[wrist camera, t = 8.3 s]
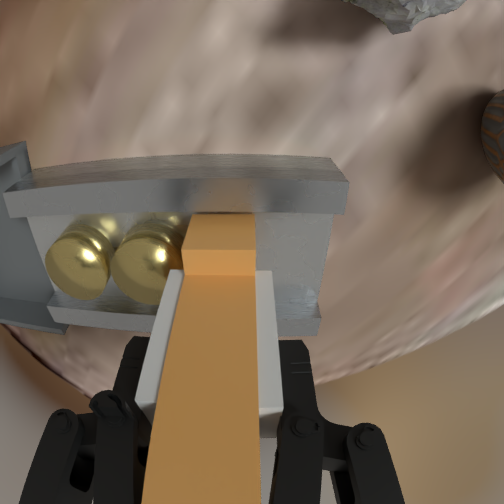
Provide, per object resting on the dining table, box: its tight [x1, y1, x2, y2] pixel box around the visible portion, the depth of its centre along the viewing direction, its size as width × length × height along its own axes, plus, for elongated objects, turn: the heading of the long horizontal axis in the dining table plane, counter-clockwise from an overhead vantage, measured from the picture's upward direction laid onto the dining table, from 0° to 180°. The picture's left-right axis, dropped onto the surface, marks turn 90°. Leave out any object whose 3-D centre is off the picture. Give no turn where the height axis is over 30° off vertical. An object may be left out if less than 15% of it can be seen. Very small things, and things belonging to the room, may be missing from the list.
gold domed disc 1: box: [45, 224, 115, 300], centre depth 16 cm, size 4×4×2 cm
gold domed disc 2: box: [110, 223, 184, 305], centre depth 16 cm, size 4×4×2 cm
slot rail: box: [3, 154, 349, 336], centre depth 17 cm, size 10×18×4 cm, turn 89°
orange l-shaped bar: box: [141, 214, 261, 504], centre depth 11 cm, size 6×3×13 cm, turn 179°
